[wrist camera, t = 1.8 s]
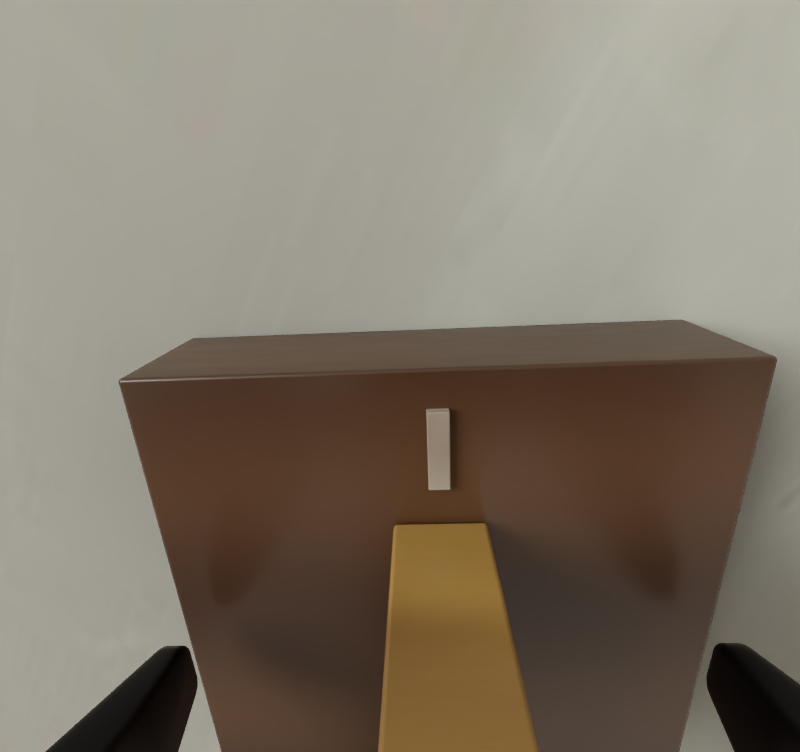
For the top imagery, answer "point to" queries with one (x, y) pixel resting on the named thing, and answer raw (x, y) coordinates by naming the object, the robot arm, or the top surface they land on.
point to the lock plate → (450, 512)
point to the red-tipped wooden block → (450, 648)
